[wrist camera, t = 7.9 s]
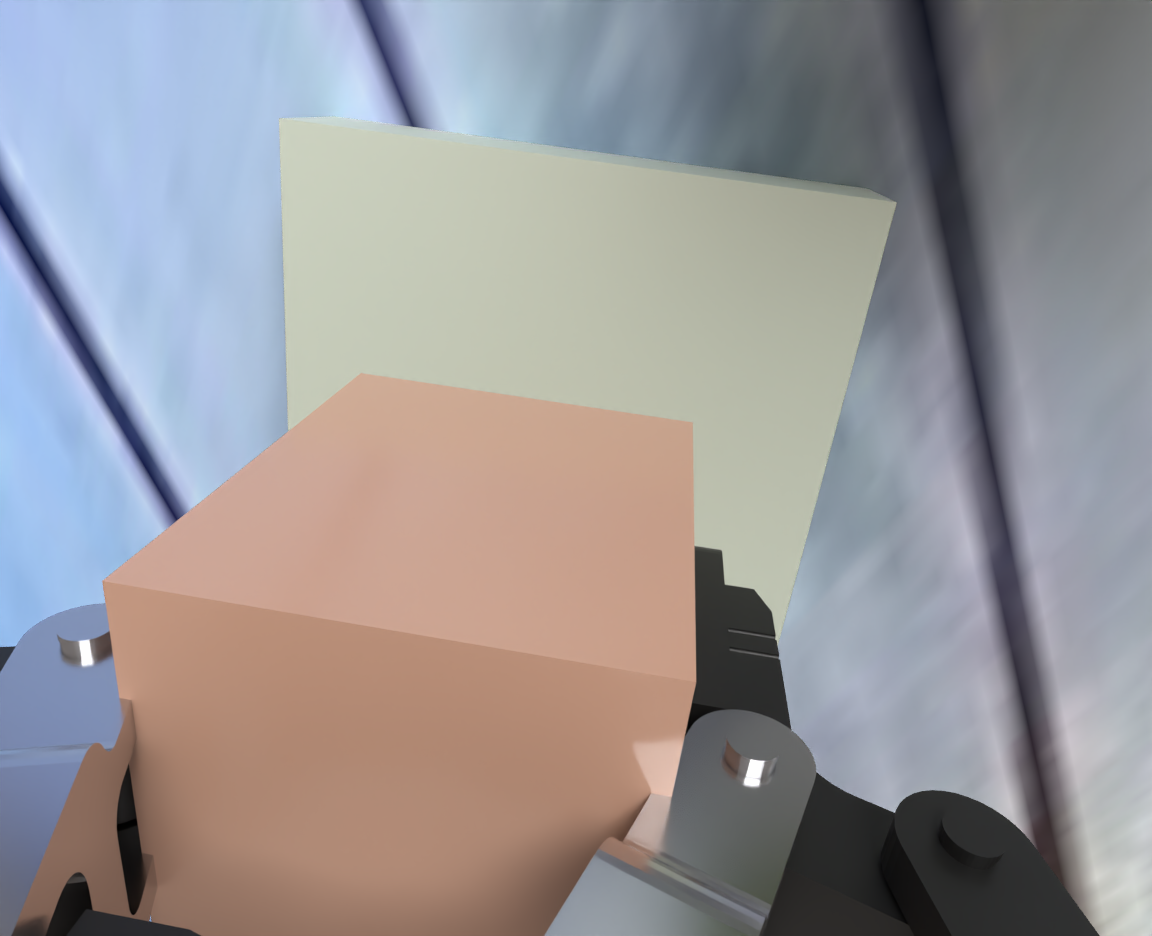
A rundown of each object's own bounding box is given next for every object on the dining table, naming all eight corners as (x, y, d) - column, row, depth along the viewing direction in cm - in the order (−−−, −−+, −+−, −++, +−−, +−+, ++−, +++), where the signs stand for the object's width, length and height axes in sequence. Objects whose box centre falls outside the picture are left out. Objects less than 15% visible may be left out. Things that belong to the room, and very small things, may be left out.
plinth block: (343, 116, 18) (279, 118, 15) (863, 186, 17) (896, 202, 14) (342, 558, 22) (293, 622, 19) (752, 629, 21) (761, 705, 19)
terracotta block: (360, 372, 12) (102, 581, 7) (692, 422, 12) (696, 682, 7) (359, 646, 14) (158, 972, 9) (643, 694, 14) (614, 1064, 9)
